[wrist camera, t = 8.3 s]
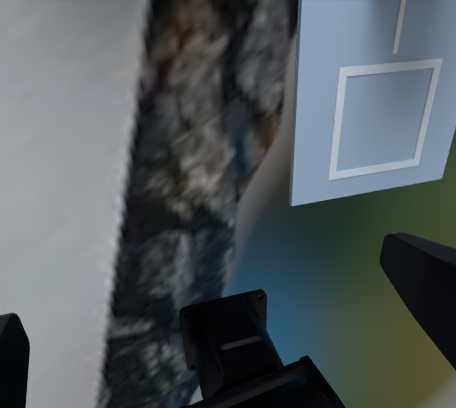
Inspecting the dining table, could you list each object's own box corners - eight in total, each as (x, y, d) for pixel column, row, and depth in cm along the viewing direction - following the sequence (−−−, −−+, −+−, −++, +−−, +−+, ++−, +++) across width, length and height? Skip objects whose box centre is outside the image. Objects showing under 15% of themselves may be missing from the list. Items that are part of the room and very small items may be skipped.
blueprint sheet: (437, 176, 27) (442, 179, 27) (288, 203, 24) (292, 207, 24) (553, -266, 16) (564, -273, 16) (312, -304, 14) (319, -314, 13)
